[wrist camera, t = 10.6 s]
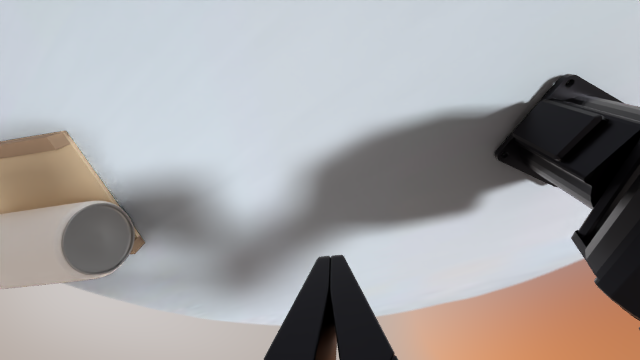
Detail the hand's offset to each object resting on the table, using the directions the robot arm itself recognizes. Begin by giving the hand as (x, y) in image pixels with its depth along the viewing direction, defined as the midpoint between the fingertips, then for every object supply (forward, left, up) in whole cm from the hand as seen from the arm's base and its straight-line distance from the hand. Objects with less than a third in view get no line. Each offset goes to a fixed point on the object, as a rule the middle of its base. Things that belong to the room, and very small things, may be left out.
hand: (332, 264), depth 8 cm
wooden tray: (+22, +17, -12) cm, 30 cm away
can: (+14, +15, -9) cm, 22 cm away
